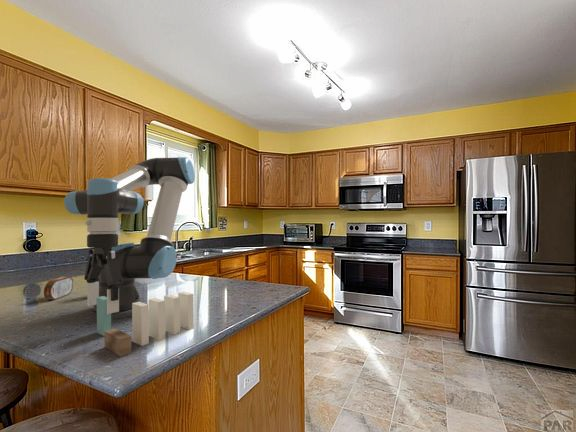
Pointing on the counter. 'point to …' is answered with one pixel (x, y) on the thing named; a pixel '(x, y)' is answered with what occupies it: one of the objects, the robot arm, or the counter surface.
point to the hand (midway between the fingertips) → (102, 308)
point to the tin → (58, 287)
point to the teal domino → (103, 316)
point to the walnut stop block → (118, 342)
